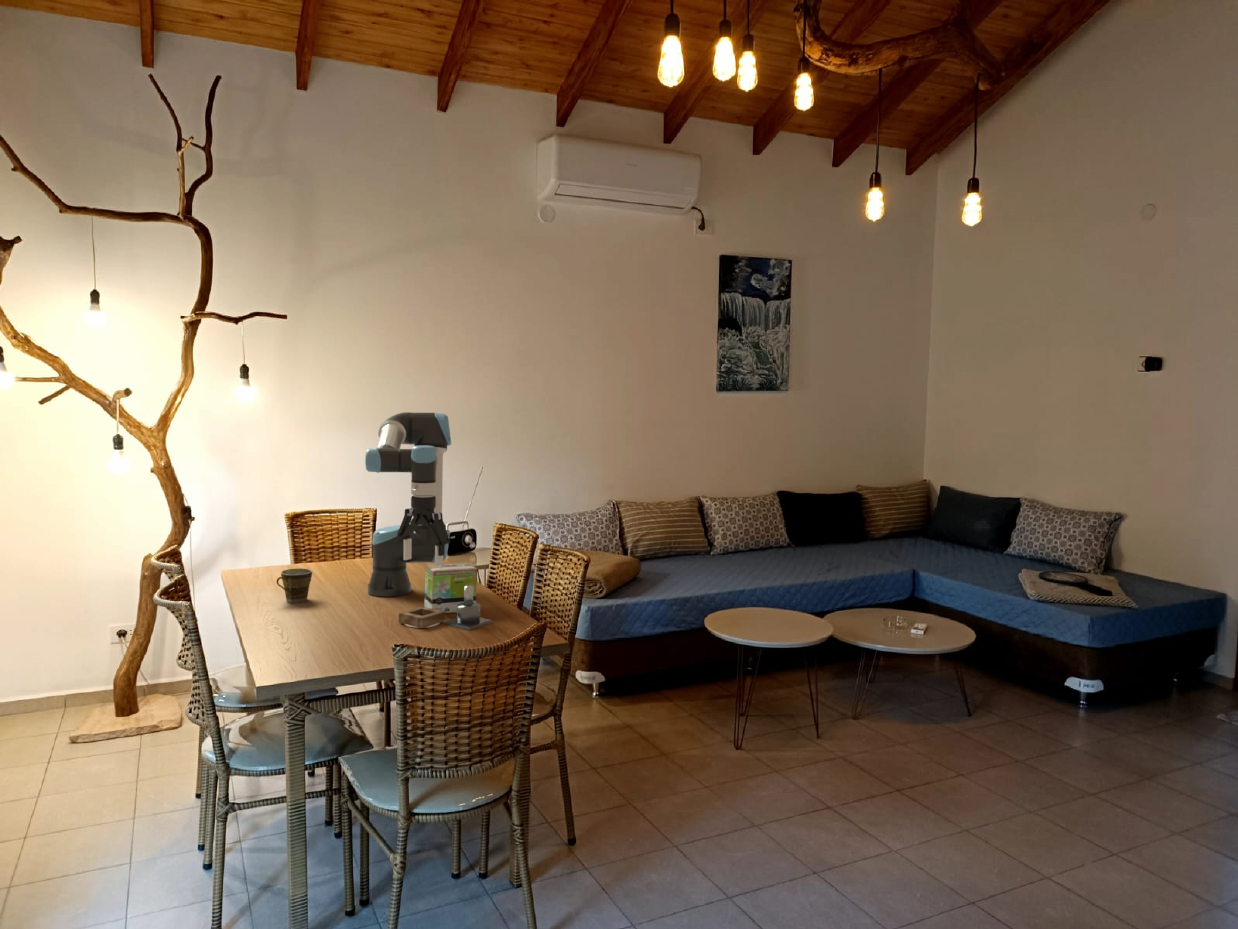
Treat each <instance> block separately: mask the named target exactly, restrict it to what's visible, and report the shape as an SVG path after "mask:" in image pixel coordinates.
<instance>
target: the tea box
mask: <svg viewBox="0 0 1238 929" xmlns="http://www.w3.org/2000/svg"><path fill="white" fill-rule="evenodd" d="M424 576H425V578H424V603H423V605H424V606H423V607H427V608H431V609H436V610H440V611H445V614H450V613H457V604H459V603H464V586H467V585H471V586H473V602H474V603H477V587H478V586H477V585H478V584H477V583H478V582H477V581H478V578H477V577H478V568H476V567H475V566H474V565H472V564H471V563H470V562H459V563H445V564H444V563H443V565H441V566H437V567H436V566H435V564H428V565H427V564H426V565H425V575H424Z"/></svg>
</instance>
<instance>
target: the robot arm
mask: <svg viewBox="0 0 1238 929" xmlns="http://www.w3.org/2000/svg"><path fill="white" fill-rule="evenodd" d="M449 422H450V421H449V417H448V415H447V414H446V413H440V412H409V411H408V412H407V411H406V412H405V411H404V412H400V413H396V414H394V415H392V416H390V417H388V418H386V419H385V420H384V421H383V422H382V423H381V424H380V426H379V428H378V440H377V443H376V447H374V448H368V449H366V450H365V451H366V452H365V462H364V464H365V465H364V466H365V470H366V471H368V472H369V473H410V474H411V482H410V483H411V486H410V487H411V488H410V490H411V492H410V493H411V495H412V496H411V497H410V508H409V507H408V508H405V509H404V516H403V519H402V521H401V523H400V524H399V525H391V526H385V527H381V528H378V529H377V530H375V531H374V532H373V534H372V543H371V545H372V571H371V575H370V579H369V583H368V584H367V588H366V590H367V594H368V595H371V596H374V597H385V598H386V597H398V596H405V595H408V594H409V593H411V592H412V584H411V583H412V582H410V578H409V574H408V571H407V564H409V563H410V564H418V563H420V564H424V563H425V564H430V563H431V564H434V565H435V566H436V567H437V566H441V565H443V564H444V561H446V560H447V556H448V550H449V544H450V543H451V540H450V535H451V530H449V529H447V524H446V523H445V522H444V519H443V477H444V476H443V469H444V468H443V465H444V463H443V461H444V459H443V458H444V454H446V452H447V451H448V446H451V445H452V438H451V430H450V423H449ZM401 445H408V446H409V445H413V446H412V448H401V447H402V446H401Z"/></svg>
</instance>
